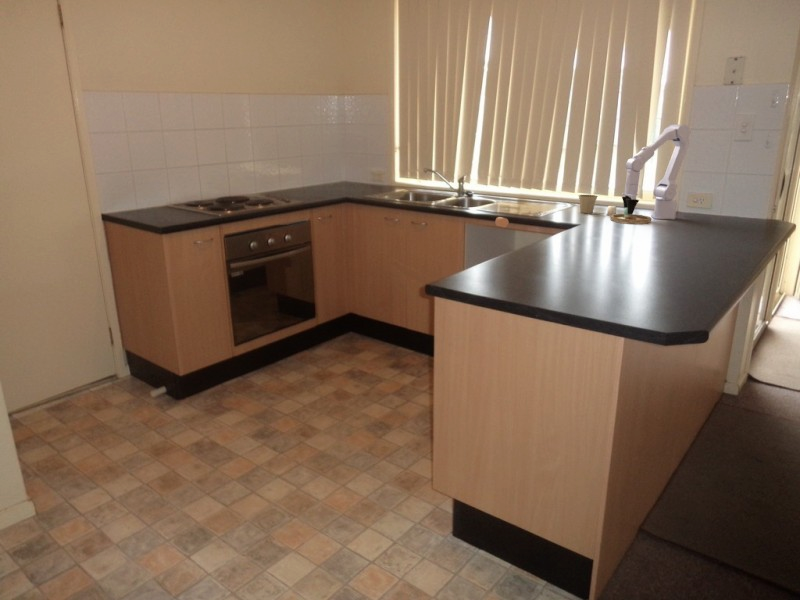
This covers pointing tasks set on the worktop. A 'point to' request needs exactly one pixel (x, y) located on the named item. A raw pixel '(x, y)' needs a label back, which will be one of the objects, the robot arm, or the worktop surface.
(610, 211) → the bead cream
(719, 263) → the worktop surface
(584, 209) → the flower pot
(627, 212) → the bead teal
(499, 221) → the pink rounded lump
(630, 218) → the ring tray
